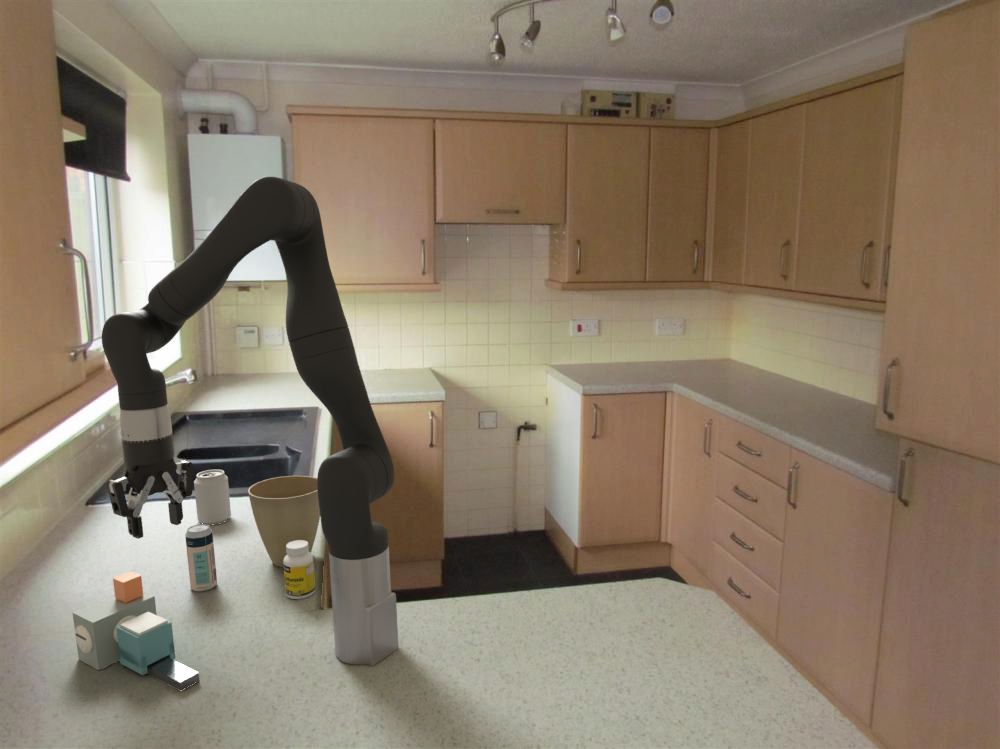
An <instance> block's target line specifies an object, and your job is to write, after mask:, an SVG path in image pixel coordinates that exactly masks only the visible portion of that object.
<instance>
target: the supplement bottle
mask: <svg viewBox="0 0 1000 749" xmlns="http://www.w3.org/2000/svg"><path fill="white" fill-rule="evenodd" d="M308 551H309V546H308V542H307V541H304V540H296V541H292V542H289V543H288V544H287V545H286V552H287V555H286V556H285V557H284V560H283V565H284V567H283V573H284V575H283V576H284V589H285V596H286V597H287V598H289V599H291V600H301V599H302V600H303V599H306V598H310V596H313V594H314V593H315V592H316V579H315V577H316V576H315V563H314V556H313V554H312V552H311V553H310V552H308Z"/></svg>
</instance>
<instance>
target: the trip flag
mask: <svg viewBox="0 0 1000 749" xmlns="http://www.w3.org/2000/svg"><path fill="white" fill-rule="evenodd" d="M112 582H113V583H112V584H113V589H114V595H115V599H118V600H120V601H122V602H124V603H127V602H129V601H132V600H134V599H136V598H139V597H141V596H143V591H144V589H143V588H144V587H143V580H142V574H138V573H136V572H133V571H131V570H130V571H128V572H125V573H123V574H120V575H117V576H115V577H113V578H112Z"/></svg>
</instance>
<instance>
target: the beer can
mask: <svg viewBox="0 0 1000 749" xmlns="http://www.w3.org/2000/svg"><path fill="white" fill-rule="evenodd" d="M184 536H185V546H186V556H187V566H188V574H189V576H188V577H189V585H190V587H189V588H190V590H192V591H195V592H198V593H200V592H201V593H202V592H206V591H210V590H213V588H214V587H215V586H216V585H217V584H218V579H217V566H216V558H215V556H216V555H215V554H216V553H215V546H214V544H215V543H214V535H213V529H212V528H211V526H210V525H206V524H202V523H201V524H195V525H192V526H189V527H188V528H187V530H186V532H185V535H184Z"/></svg>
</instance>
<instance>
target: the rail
mask: <svg viewBox="0 0 1000 749" xmlns="http://www.w3.org/2000/svg"><path fill="white" fill-rule="evenodd" d="M147 672H148V674H147V675H149V676H150V675H151V677H152V676H153V677H152V678H154V677H155V679H156V678H157V680H158V679H159V680H158V681H160V680H161V681H160V682H162V681H163V682H162V683H164V682H165V683H164V684H166V683H167V684H169V685H171V686H173V687H175V688H177V689H179V690H183V689H184V688H187V687H188V686H190V685H192V684H194V683H195V682H198V681H200V674H199V671H197V670H195V669H193V668H191V667H188V666H187V665H185V664H183V663H180V662H178V661H176V660H175V659H171V658H169V657H167V656H165V657H163V658H161V659H160V660H158V661H156V662H154V663H152V664H150V665H148V666H147ZM198 683H199V682H198ZM167 684H166V685H167ZM169 685H168V686H169ZM194 685H195V684H194ZM171 686H170V687H171ZM173 687H172V688H173ZM175 688H174V689H175ZM177 689H176V690H177ZM187 689H188V688H187ZM179 690H178V691H179Z"/></svg>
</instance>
